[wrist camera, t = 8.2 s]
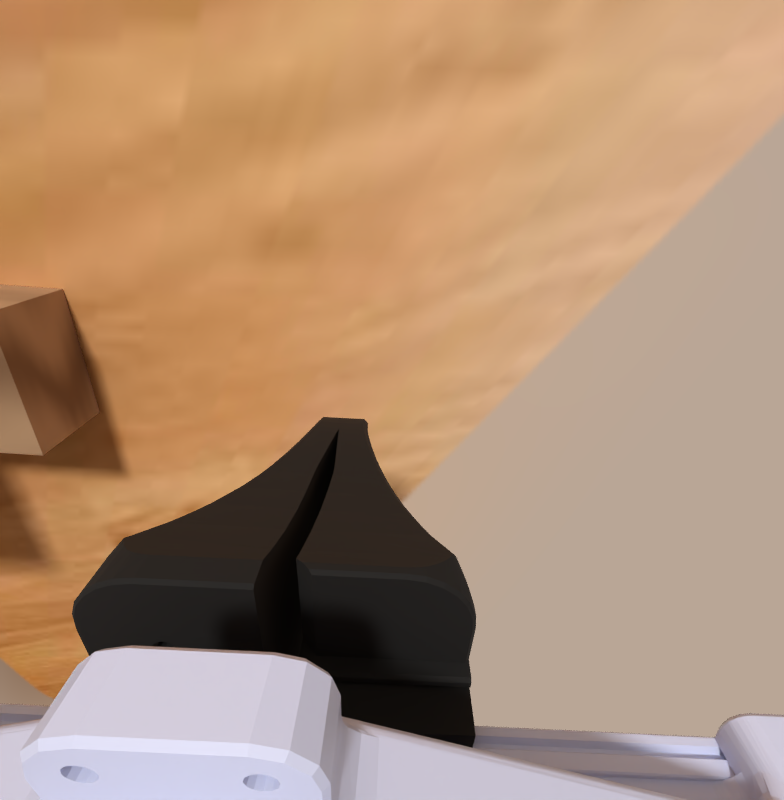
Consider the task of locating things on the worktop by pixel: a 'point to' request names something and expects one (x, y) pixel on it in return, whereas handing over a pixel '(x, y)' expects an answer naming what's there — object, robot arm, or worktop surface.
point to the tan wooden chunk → (40, 371)
